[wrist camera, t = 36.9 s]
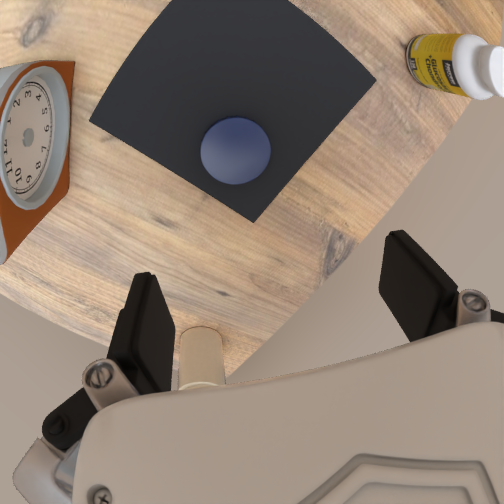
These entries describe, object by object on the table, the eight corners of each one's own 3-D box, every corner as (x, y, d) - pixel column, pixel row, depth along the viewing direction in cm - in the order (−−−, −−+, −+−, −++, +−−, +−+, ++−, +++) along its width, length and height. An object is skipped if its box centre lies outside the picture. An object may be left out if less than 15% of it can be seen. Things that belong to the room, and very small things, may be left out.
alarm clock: (73, 200, 28) (10, 276, 16) (14, 197, 26) (-54, 263, 15) (78, 60, 20) (-9, 61, 9) (12, 69, 18) (-78, 86, 7)
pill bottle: (394, 44, 22) (472, 43, 13) (432, 28, 21) (509, 29, 11) (418, 96, 26) (495, 118, 16) (453, 78, 24) (528, 95, 15)
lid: (282, 143, 27) (285, 147, 26) (238, 191, 30) (240, 198, 28) (230, 101, 25) (231, 102, 23) (186, 154, 27) (185, 158, 25)
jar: (230, 334, 41) (236, 398, 32) (210, 358, 43) (213, 418, 35) (190, 321, 39) (189, 387, 30) (173, 346, 41) (170, 408, 32)
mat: (375, 80, 25) (377, 80, 24) (253, 221, 32) (253, 223, 32) (216, -43, 17) (216, -45, 16) (90, 120, 24) (88, 121, 23)
